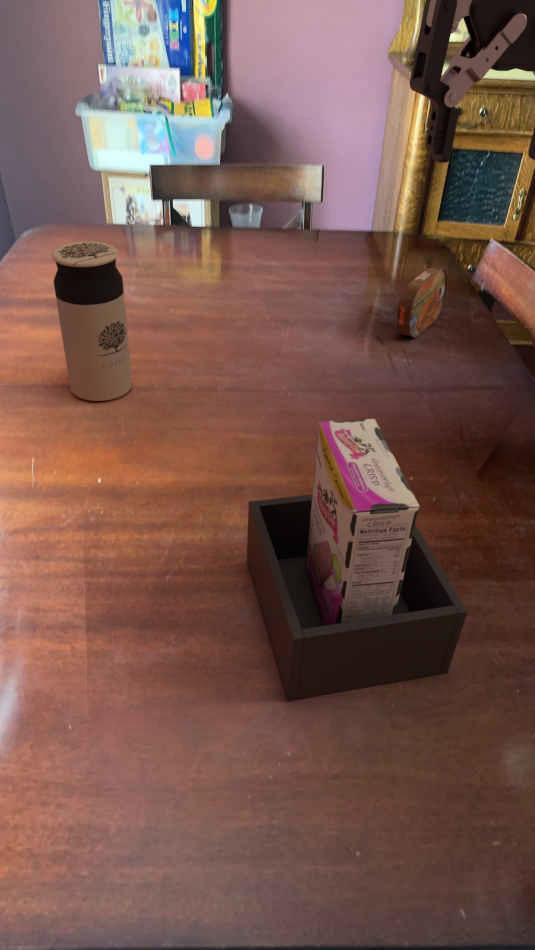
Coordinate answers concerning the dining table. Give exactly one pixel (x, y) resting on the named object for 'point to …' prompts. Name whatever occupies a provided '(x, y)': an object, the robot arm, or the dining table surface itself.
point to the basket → (351, 643)
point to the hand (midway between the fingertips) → (489, 160)
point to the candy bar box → (358, 523)
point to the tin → (421, 301)
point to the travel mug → (92, 320)
